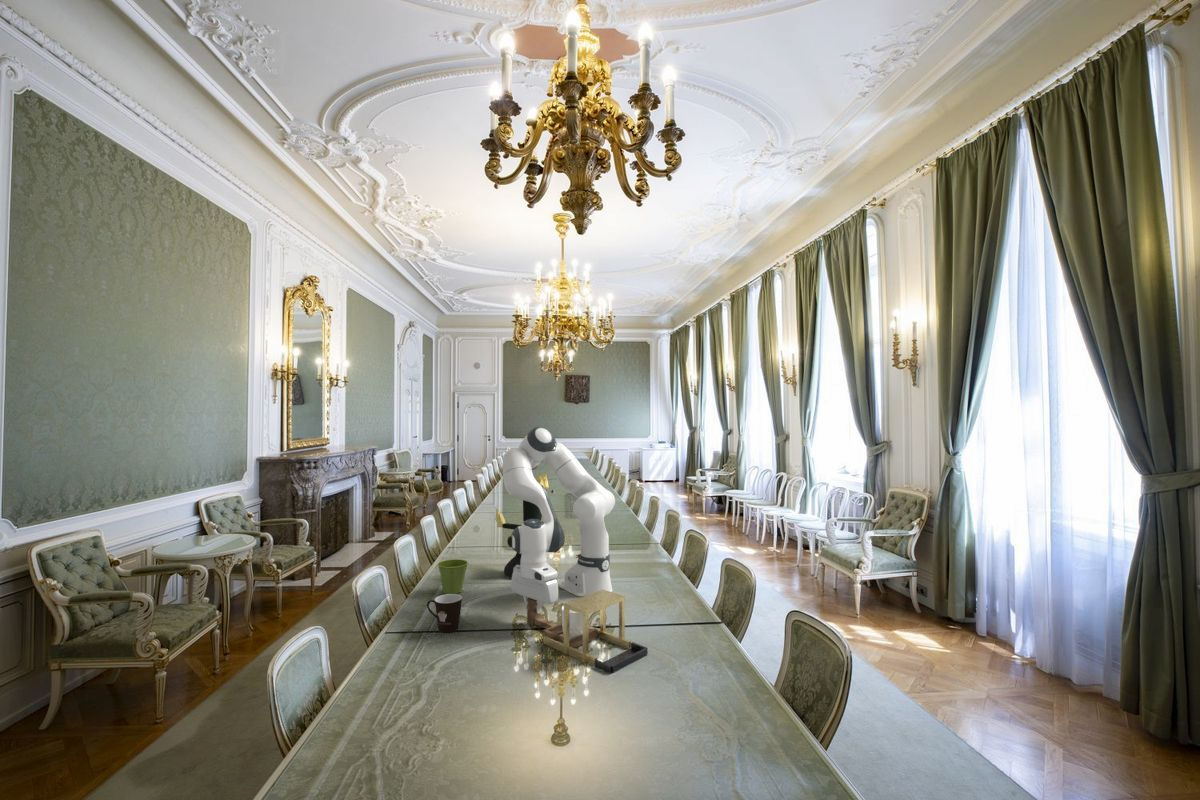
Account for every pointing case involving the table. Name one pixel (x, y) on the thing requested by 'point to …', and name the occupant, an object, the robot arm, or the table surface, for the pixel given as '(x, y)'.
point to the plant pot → (452, 575)
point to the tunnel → (598, 631)
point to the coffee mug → (447, 612)
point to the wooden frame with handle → (554, 626)
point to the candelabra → (528, 513)
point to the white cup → (574, 623)
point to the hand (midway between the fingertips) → (533, 611)
